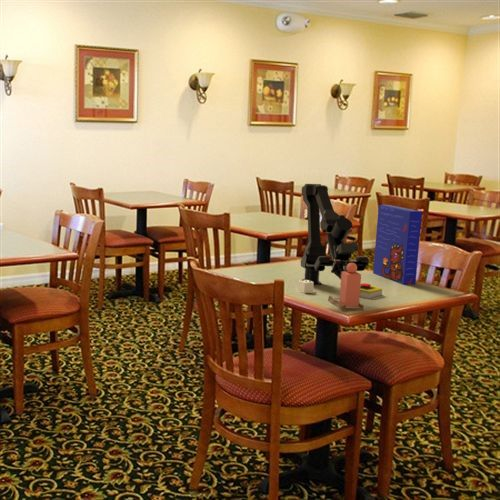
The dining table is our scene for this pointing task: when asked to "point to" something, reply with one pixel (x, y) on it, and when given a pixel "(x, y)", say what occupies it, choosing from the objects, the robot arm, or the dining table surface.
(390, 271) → the cereal box
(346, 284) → the pawn
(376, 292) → the emergency button
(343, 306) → the track
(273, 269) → the dining table surface
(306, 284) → the die
